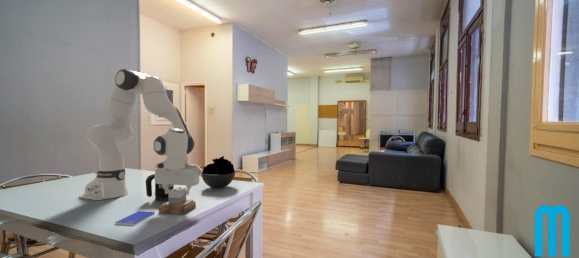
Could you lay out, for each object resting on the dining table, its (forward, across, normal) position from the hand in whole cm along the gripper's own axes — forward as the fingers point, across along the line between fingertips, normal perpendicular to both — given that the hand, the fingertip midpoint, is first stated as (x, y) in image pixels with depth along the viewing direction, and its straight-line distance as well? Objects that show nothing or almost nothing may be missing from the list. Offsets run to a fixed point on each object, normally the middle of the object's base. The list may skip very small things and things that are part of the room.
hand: (177, 194), depth 115 cm
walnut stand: (+7, 0, 0) cm, 7 cm away
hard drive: (+8, +11, +12) cm, 18 cm away
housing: (+4, 0, 0) cm, 4 cm away
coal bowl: (+8, -3, -39) cm, 40 cm away
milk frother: (+8, +14, -13) cm, 20 cm away
